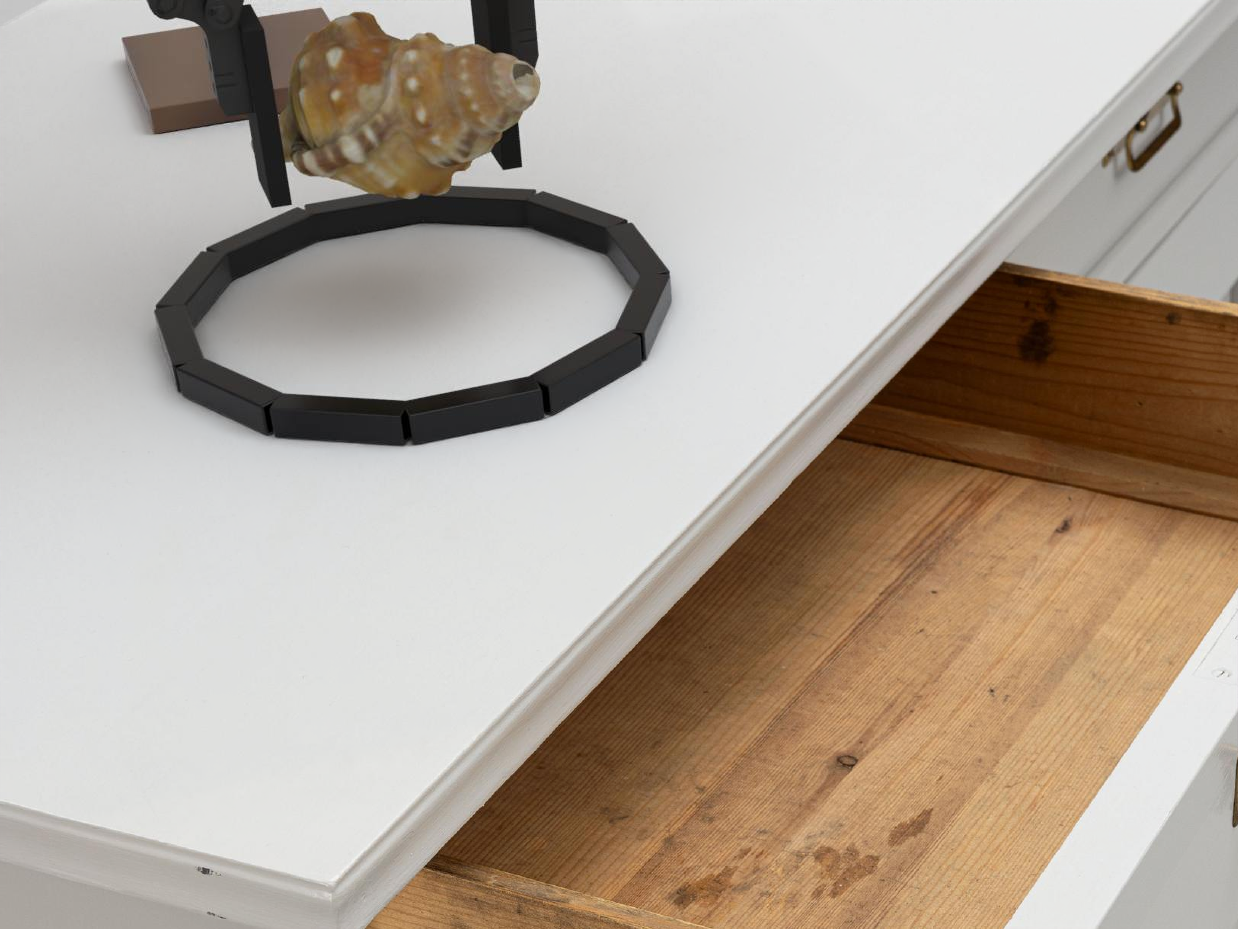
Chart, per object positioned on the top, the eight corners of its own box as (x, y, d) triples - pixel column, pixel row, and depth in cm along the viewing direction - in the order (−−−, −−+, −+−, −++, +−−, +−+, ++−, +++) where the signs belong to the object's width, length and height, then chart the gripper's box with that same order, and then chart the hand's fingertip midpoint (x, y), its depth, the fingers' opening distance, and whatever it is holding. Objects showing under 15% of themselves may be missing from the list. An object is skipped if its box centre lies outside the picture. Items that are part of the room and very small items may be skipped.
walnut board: (154, 134, 101) (149, 108, 101) (126, 61, 109) (121, 37, 108) (367, 99, 104) (364, 74, 103) (325, 30, 111) (322, 6, 111)
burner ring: (209, 487, 76) (202, 457, 76) (134, 261, 91) (128, 234, 90) (733, 380, 81) (732, 351, 81) (583, 181, 96) (581, 155, 95)
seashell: (501, 203, 88) (585, 9, 81) (432, 327, 83) (515, 131, 75) (289, 91, 87) (354, -118, 79) (206, 210, 81) (266, -1, 74)
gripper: (-36, -473, 63) (122, 261, 77) (657, -529, 68) (685, 167, 82) (-55, -513, 68) (96, 179, 83) (587, -561, 74) (625, 96, 88)
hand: (390, 172), depth 83 cm, fingers closed on seashell, 8 cm apart
